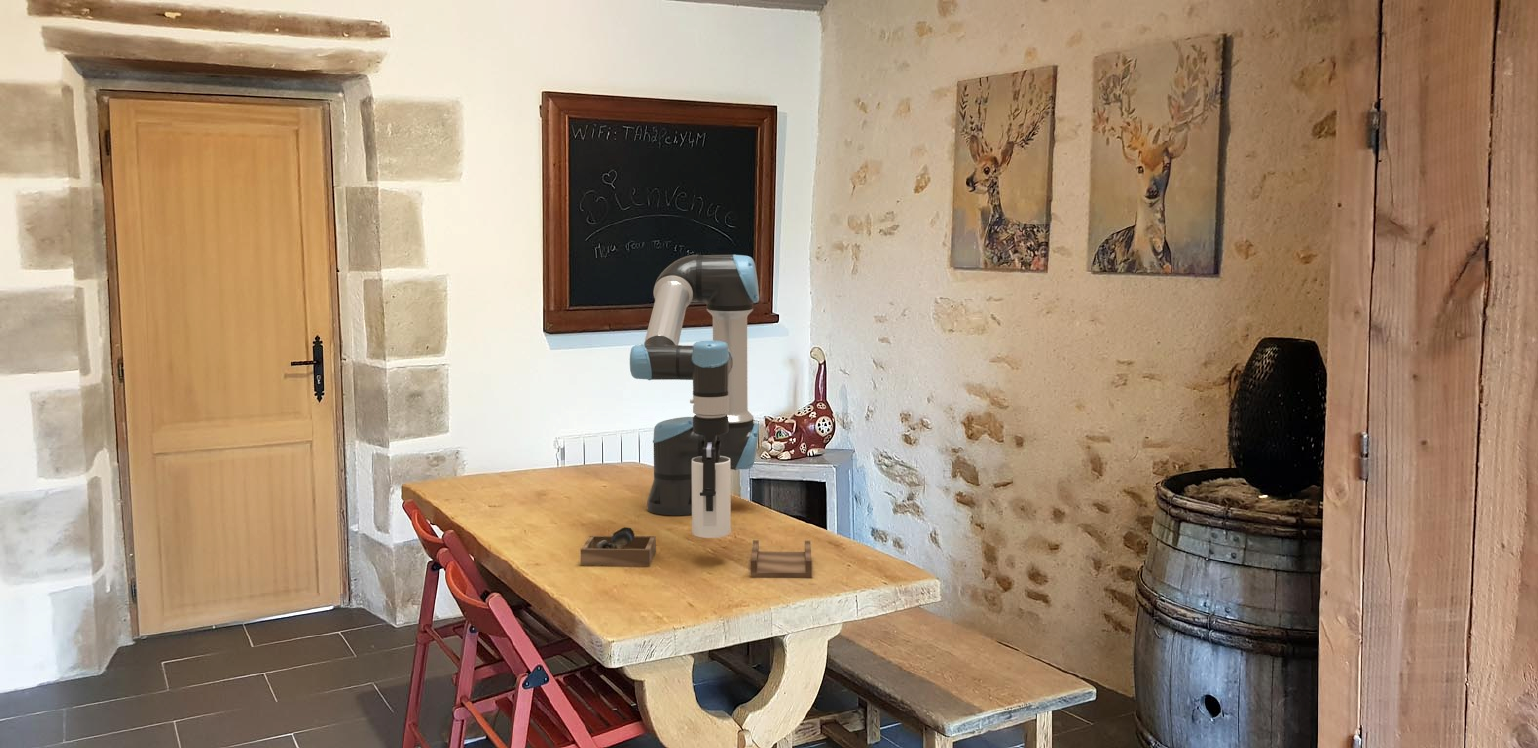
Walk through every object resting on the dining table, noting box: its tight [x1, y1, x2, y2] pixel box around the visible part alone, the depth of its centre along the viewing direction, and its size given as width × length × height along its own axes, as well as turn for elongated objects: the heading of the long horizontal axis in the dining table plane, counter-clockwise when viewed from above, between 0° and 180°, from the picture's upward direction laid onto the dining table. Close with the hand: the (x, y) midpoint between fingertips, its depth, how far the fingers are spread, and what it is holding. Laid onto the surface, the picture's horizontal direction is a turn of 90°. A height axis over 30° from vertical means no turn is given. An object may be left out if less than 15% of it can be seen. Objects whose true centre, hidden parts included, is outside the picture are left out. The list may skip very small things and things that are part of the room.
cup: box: [691, 456, 732, 539], centre depth 242 cm, size 8×8×16 cm
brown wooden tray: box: [750, 539, 813, 579], centre depth 240 cm, size 16×12×4 cm
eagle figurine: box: [597, 526, 636, 549], centre depth 245 cm, size 8×7×9 cm
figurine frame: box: [580, 535, 657, 567], centre depth 246 cm, size 12×14×4 cm
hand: (711, 519), depth 243 cm, fingers closed on cup, 8 cm apart
